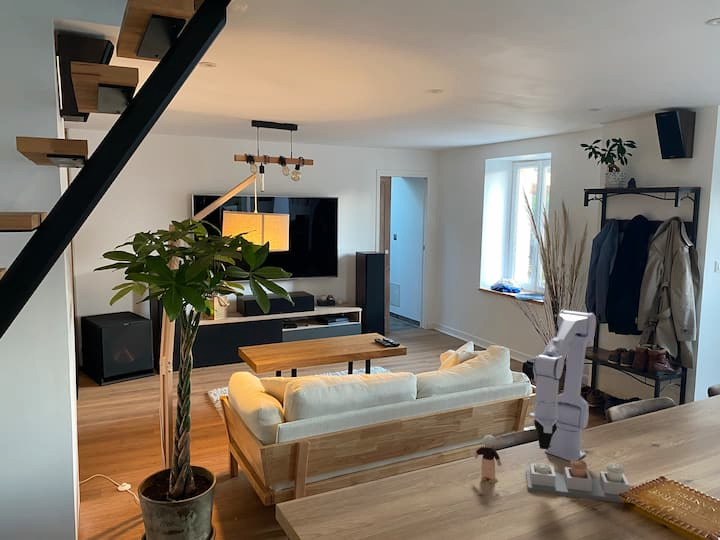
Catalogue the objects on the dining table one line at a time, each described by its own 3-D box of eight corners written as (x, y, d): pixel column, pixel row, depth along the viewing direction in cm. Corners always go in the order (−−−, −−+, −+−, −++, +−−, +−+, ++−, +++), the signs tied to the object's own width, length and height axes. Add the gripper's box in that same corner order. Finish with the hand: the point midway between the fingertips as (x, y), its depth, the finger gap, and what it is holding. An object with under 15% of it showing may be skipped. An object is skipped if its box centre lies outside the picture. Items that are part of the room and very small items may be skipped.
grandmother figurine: (502, 479, 150) (504, 435, 148) (499, 485, 146) (501, 440, 145) (474, 473, 153) (476, 430, 151) (471, 479, 149) (473, 435, 148)
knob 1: (535, 481, 146) (535, 469, 145) (534, 474, 150) (534, 462, 149) (550, 483, 145) (551, 470, 144) (549, 476, 149) (549, 464, 148)
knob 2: (607, 482, 141) (608, 469, 141) (604, 475, 145) (605, 462, 145) (624, 484, 140) (625, 471, 140) (620, 477, 144) (621, 464, 144)
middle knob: (571, 478, 143) (571, 465, 143) (568, 470, 147) (569, 458, 147) (587, 480, 142) (587, 467, 142) (584, 472, 146) (585, 460, 146)
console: (527, 490, 143) (528, 476, 143) (525, 472, 153) (526, 459, 153) (634, 504, 137) (635, 489, 137) (625, 484, 147) (626, 470, 147)
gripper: (528, 389, 152) (526, 435, 154) (532, 408, 138) (530, 458, 140) (555, 391, 151) (552, 438, 152) (561, 410, 137) (559, 461, 138)
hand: (543, 448), depth 146 cm, fingers closed
